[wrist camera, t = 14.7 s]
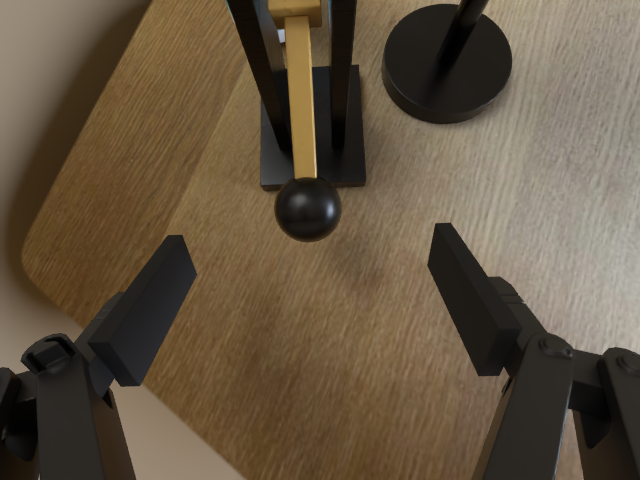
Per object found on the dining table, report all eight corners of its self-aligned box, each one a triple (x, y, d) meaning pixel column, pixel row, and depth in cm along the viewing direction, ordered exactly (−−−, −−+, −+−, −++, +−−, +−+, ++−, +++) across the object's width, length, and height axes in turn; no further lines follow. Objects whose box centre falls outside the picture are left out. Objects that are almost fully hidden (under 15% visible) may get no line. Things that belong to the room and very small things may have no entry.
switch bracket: (364, 186, 24) (408, 40, 10) (263, 191, 24) (175, 54, 10) (357, 74, 26) (386, -175, 12) (264, 79, 26) (189, -159, 12)
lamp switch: (341, 230, 18) (344, 250, 15) (282, 232, 18) (272, 253, 15) (334, -39, 14) (336, -95, 11) (258, -34, 14) (237, -88, 11)
